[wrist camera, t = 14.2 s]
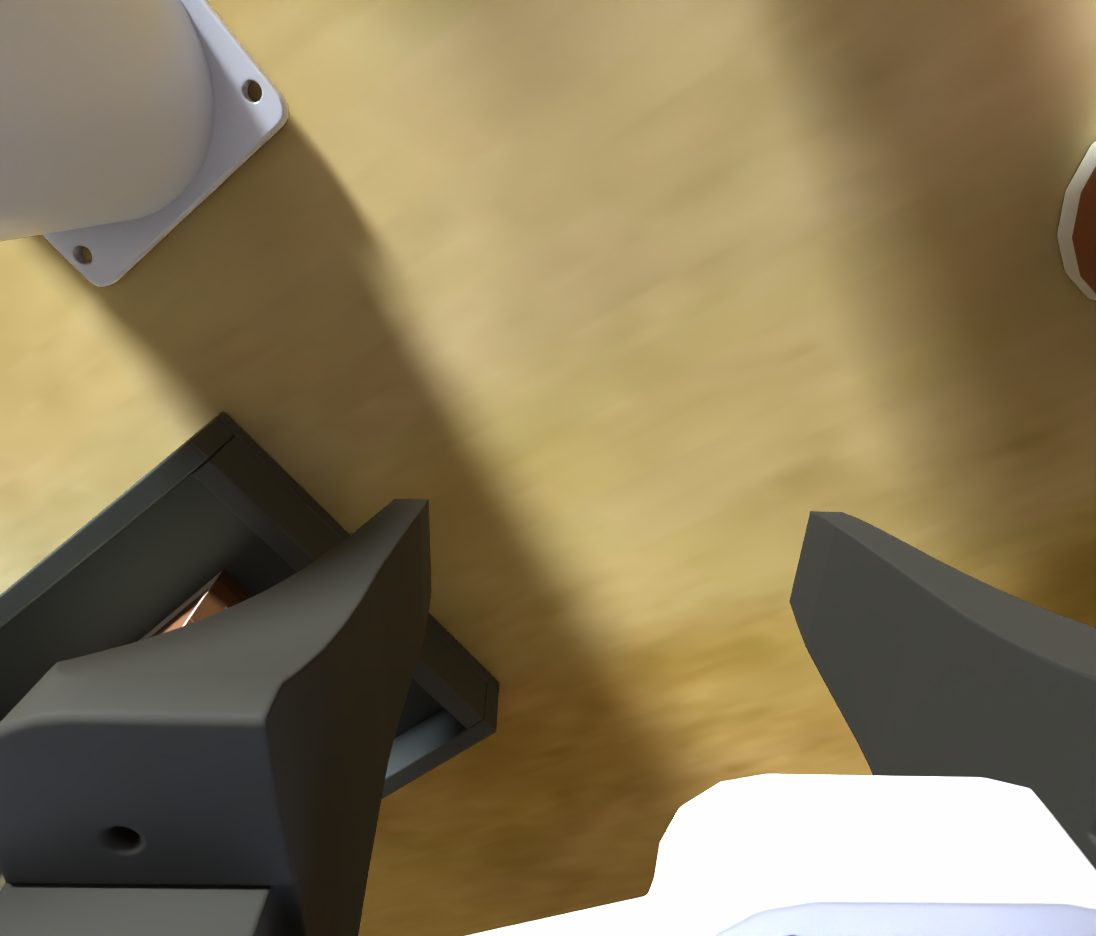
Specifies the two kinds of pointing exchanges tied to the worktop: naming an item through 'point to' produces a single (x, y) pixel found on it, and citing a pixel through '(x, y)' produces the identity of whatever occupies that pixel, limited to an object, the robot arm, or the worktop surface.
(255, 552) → the tray
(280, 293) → the worktop surface
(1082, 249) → the coffee cup
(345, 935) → the robot arm
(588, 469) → the worktop surface
